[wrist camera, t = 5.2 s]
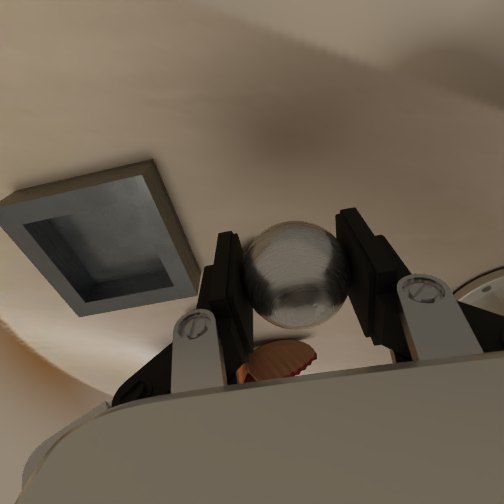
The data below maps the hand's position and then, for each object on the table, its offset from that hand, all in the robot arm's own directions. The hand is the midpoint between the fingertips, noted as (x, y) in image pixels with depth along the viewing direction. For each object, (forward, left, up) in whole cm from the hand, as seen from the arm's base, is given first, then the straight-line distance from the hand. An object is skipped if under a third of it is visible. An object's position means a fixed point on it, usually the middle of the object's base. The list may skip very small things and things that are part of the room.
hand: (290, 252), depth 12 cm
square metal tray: (+13, +3, -11) cm, 18 cm away
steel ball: (0, 0, +1) cm, 1 cm away
